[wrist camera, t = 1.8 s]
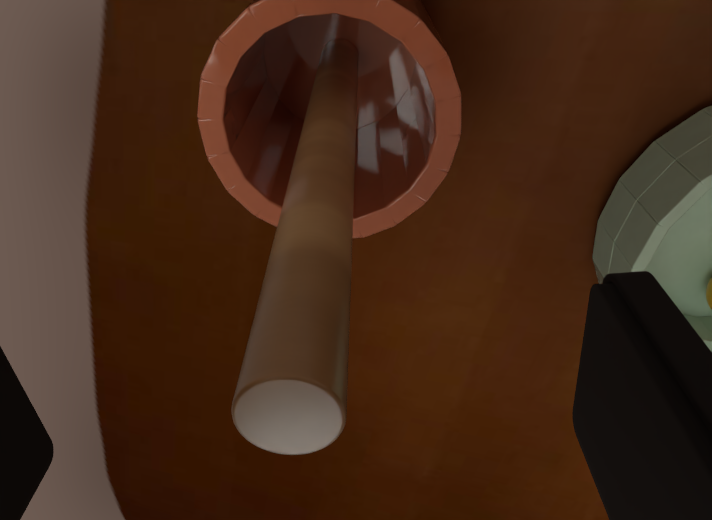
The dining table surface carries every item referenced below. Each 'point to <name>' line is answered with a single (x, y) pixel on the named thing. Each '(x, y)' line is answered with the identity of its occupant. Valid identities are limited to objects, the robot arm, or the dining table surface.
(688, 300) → the bowl
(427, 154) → the utensil pot
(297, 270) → the stirring stick
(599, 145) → the dining table surface
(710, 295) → the ball
